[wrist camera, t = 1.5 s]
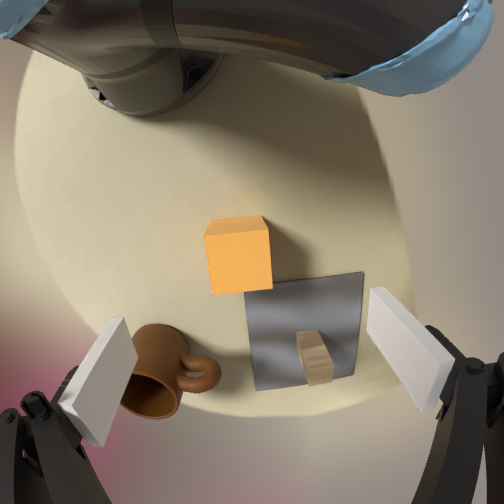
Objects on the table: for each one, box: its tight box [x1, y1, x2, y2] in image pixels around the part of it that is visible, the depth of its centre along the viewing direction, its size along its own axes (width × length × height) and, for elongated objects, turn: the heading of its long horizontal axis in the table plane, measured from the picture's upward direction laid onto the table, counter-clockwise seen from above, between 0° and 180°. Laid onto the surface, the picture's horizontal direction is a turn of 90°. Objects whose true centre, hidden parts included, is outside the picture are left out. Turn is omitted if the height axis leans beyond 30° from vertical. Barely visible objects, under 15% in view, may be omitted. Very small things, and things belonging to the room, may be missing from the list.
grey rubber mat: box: [244, 272, 363, 391], centre depth 30 cm, size 16×14×7 cm
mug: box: [120, 324, 222, 419], centre depth 28 cm, size 12×8×9 cm, turn 104°
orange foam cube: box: [204, 215, 273, 295], centre depth 27 cm, size 5×5×7 cm
